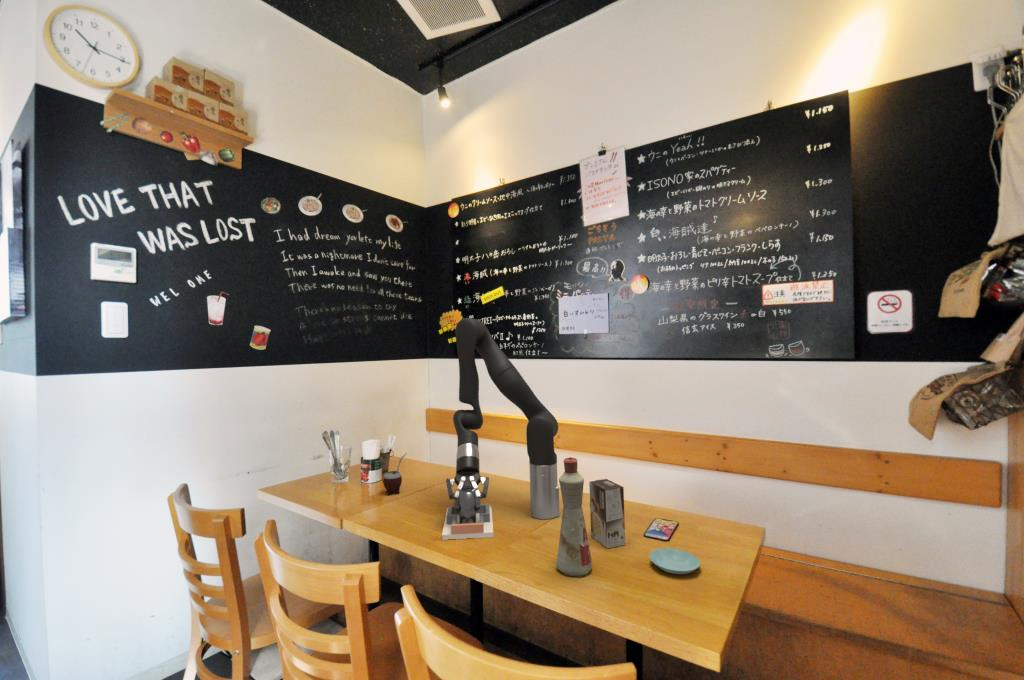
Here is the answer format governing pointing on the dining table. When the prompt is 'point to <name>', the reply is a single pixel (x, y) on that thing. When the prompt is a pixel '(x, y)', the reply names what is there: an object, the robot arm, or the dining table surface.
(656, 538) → the smartphone
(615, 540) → the coffee box
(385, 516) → the dining table surface
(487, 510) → the keyhole guide
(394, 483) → the mate gourd
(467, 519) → the metal peg
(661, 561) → the saucer
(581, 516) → the bottle
